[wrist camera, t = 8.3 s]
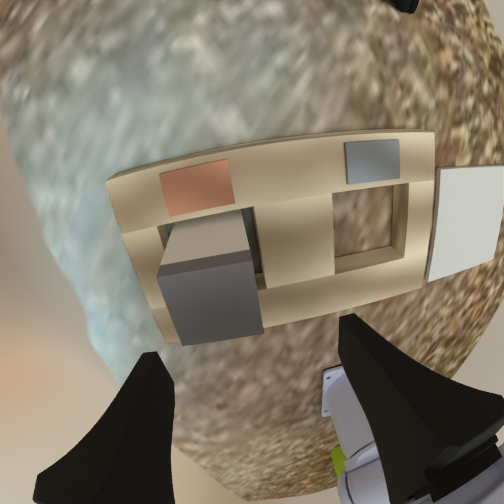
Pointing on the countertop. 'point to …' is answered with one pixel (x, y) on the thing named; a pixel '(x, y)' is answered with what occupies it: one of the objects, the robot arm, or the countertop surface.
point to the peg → (210, 279)
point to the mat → (465, 218)
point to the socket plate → (288, 216)
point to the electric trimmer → (407, 5)
